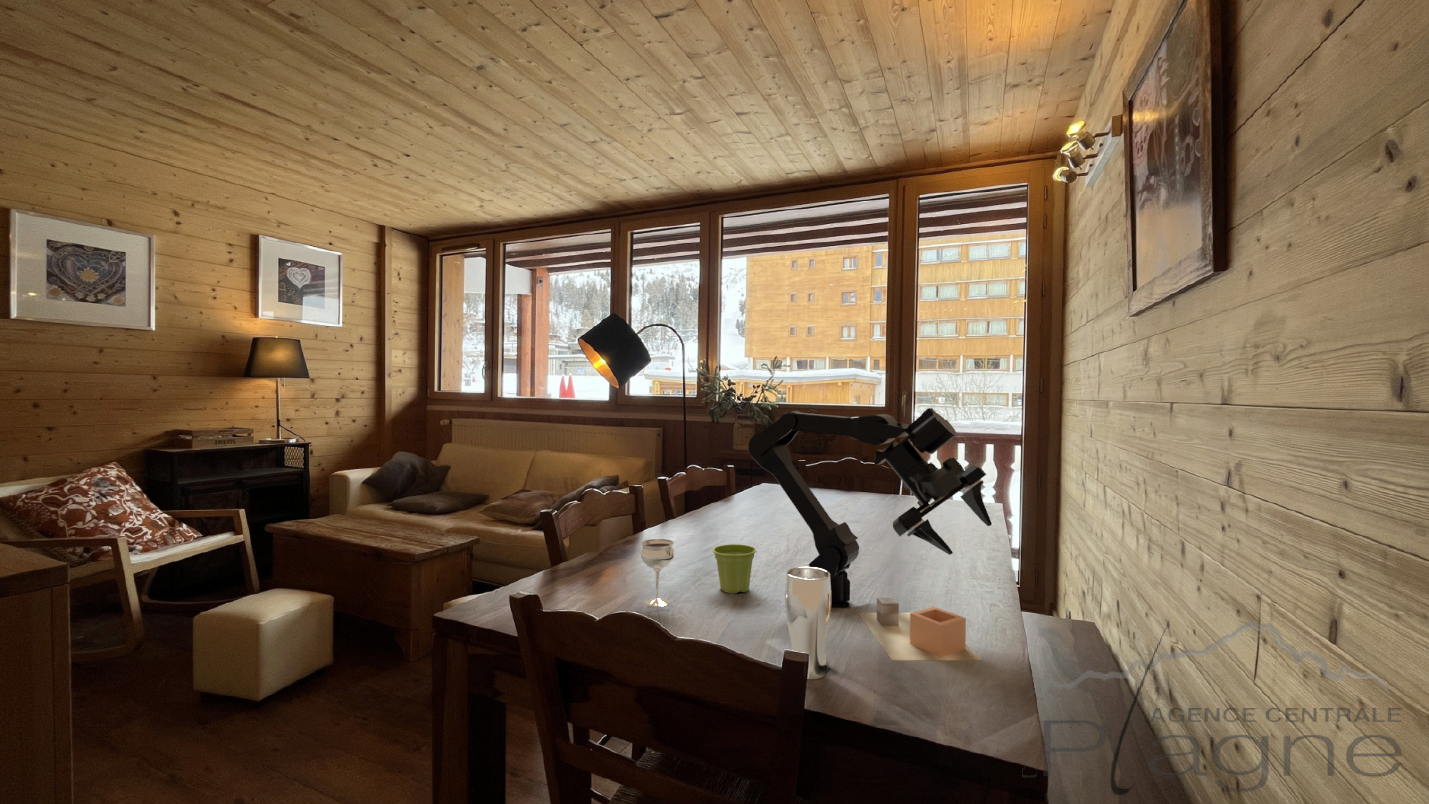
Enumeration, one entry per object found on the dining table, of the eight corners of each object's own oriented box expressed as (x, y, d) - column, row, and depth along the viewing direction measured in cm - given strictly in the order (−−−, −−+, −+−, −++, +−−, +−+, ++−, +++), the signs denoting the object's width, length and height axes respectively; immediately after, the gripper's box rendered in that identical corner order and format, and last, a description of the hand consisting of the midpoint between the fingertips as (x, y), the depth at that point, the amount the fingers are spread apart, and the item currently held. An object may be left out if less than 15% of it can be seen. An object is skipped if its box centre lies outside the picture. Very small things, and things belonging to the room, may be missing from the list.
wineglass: (633, 602, 122) (633, 543, 121) (658, 594, 127) (658, 537, 126) (655, 610, 117) (656, 549, 117) (681, 602, 122) (681, 542, 122)
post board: (891, 670, 93) (892, 634, 93) (857, 620, 113) (858, 591, 113) (982, 669, 93) (982, 634, 93) (932, 620, 113) (932, 591, 113)
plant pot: (705, 593, 127) (705, 552, 127) (722, 580, 136) (722, 542, 136) (747, 598, 124) (747, 556, 124) (761, 585, 133) (761, 546, 133)
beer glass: (780, 661, 96) (781, 566, 95) (823, 659, 96) (824, 565, 96) (789, 682, 89) (790, 580, 88) (836, 680, 89) (837, 579, 89)
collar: (940, 657, 94) (941, 625, 94) (909, 643, 99) (910, 613, 99) (965, 649, 97) (965, 618, 97) (934, 636, 102) (934, 606, 102)
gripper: (884, 483, 104) (945, 561, 98) (965, 427, 108) (1029, 499, 102) (870, 500, 114) (925, 571, 108) (945, 449, 118) (1002, 515, 112)
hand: (971, 539), depth 108 cm, fingers open, 9 cm apart
